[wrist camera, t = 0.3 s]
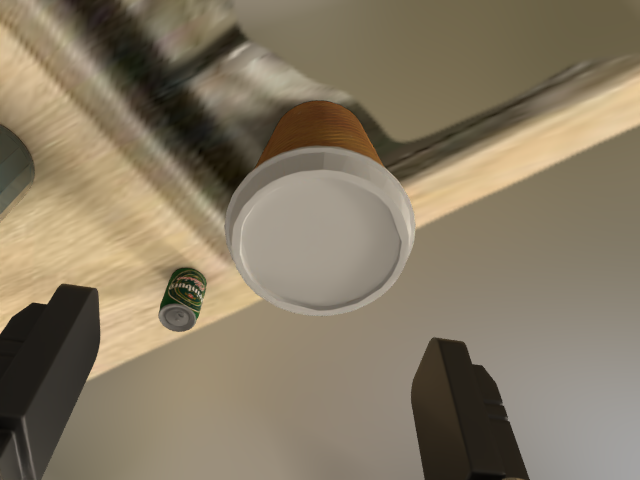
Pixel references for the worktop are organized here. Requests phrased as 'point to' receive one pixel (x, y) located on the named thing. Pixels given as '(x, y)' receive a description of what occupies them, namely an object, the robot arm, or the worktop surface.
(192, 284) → the beer can
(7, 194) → the cup
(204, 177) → the worktop surface
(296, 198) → the disposable coffee cup
